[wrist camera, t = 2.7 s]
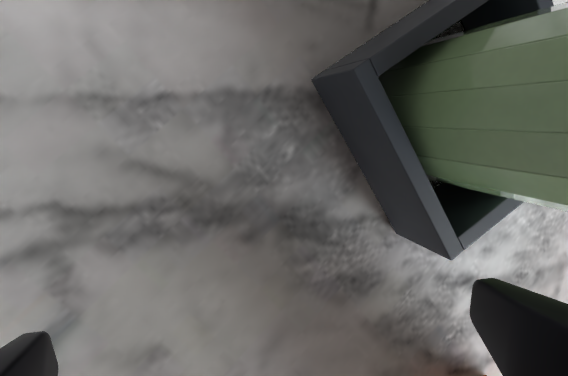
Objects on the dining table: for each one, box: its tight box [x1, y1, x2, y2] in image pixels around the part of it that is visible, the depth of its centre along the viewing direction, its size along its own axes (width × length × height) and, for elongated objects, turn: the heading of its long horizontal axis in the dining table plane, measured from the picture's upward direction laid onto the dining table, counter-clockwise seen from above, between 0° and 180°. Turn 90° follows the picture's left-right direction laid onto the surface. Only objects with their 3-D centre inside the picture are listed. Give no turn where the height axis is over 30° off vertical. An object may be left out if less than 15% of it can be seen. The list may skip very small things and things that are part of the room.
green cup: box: [379, 2, 568, 212], centre depth 16 cm, size 7×7×13 cm
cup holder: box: [311, 0, 554, 260], centre depth 20 cm, size 10×10×4 cm
